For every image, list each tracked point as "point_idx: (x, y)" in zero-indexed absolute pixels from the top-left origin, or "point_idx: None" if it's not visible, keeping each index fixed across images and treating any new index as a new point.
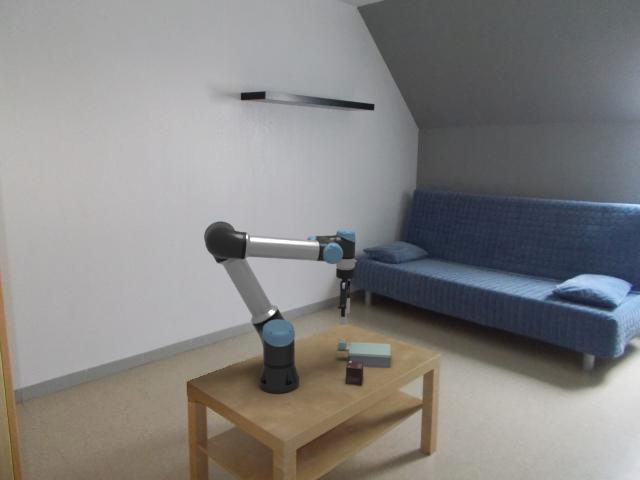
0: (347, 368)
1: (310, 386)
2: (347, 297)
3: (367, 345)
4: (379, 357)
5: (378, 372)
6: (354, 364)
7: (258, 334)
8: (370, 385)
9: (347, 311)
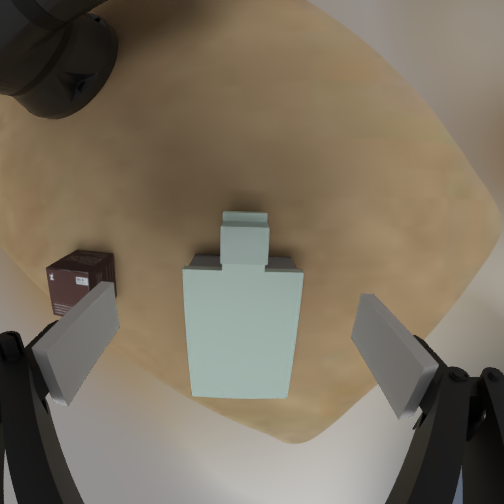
0: (48, 270)
1: (58, 150)
2: (424, 401)
3: (269, 336)
4: None
5: (171, 338)
6: (69, 294)
7: None
8: None
9: (359, 330)
